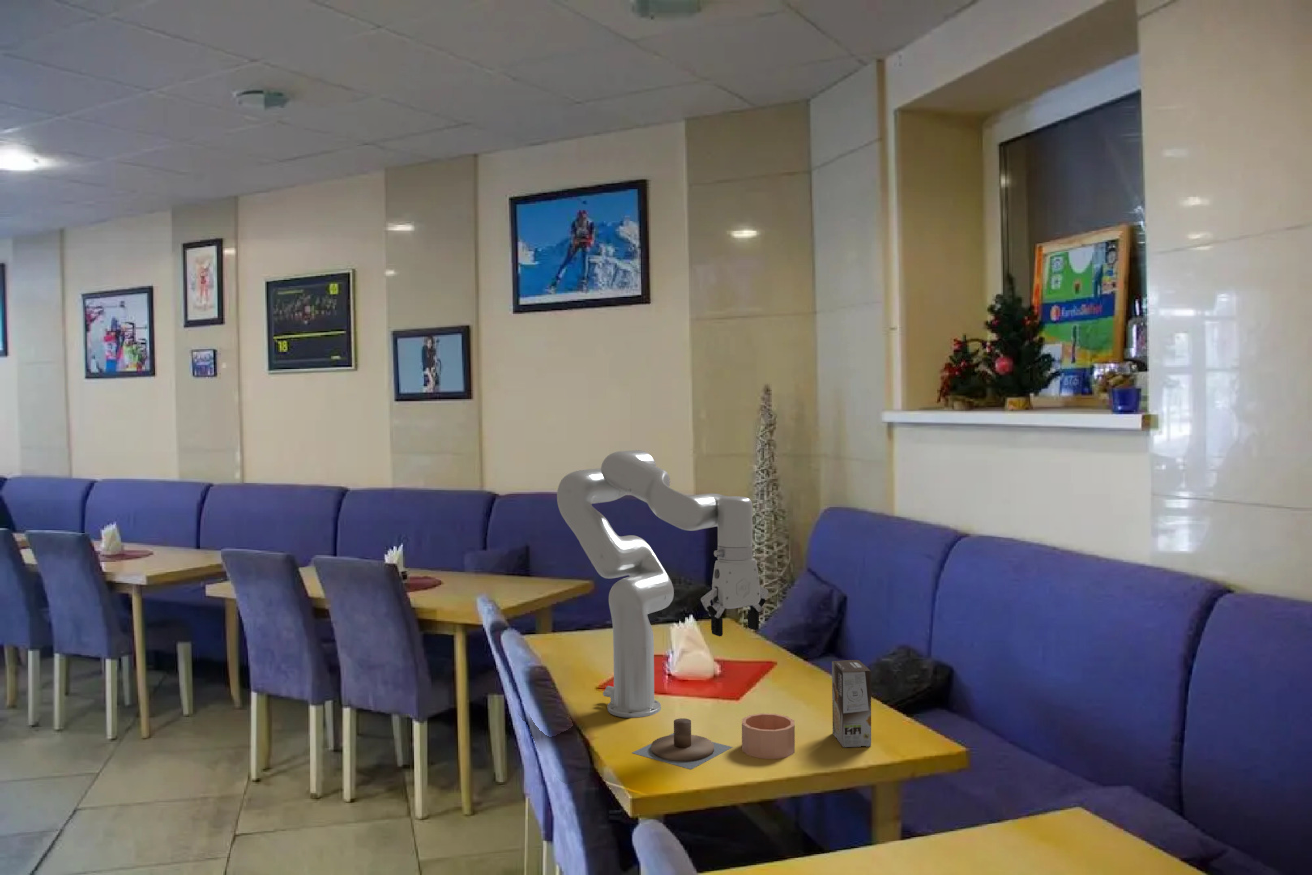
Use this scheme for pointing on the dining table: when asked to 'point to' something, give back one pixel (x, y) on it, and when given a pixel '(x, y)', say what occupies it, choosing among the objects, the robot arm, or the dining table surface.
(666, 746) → the lid
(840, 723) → the coffee box
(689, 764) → the mat
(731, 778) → the dining table surface
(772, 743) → the bowl
